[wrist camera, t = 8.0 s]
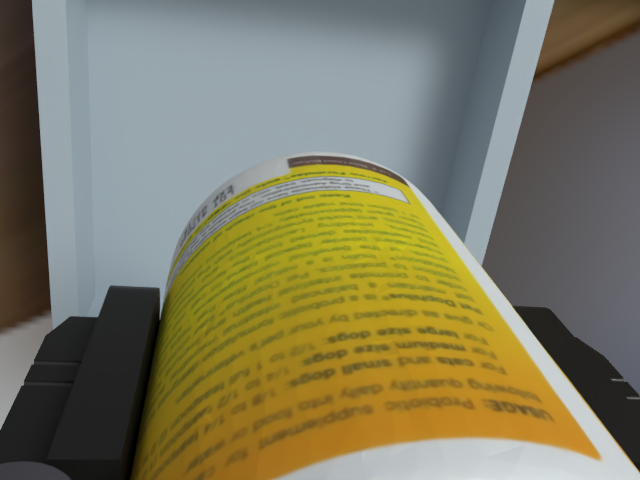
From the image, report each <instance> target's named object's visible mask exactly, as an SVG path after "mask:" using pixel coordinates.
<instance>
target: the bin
mask: <svg viewBox="0 0 640 480" xmlns="http://www.w3.org/2000/svg"><path fill="white" fill-rule="evenodd" d="M553 3H554V0H32V9H33V25H34V41H35V57H36V73H37V89H38V105H39V121H40V137H41V152H42V168H43V184H44V200H45V216H46V232H47V248H48V264H49V280H50V296H51V311H52V325H53V326H52V327H53V330H54V329H55V328H56V327H57V326H59V325H60V324H61V323H62V322H64V321H65V320H66V319H67V318H69V317H70V316H80V317H98V316H99V313H100V310H101V308H102V305H103V302H104V299H105V297H106V294H107V291H108V289H109V287H110V286H111V285H116V286H136V287H157V288H159V289H160V317H161V311H162V306H163V301H164V295H165V290H166V282H167V278H168V273H169V269H170V265H171V261H172V257H173V254H174V251H175V248H176V246H177V243H178V240H179V238H180V236H181V234H182V232H183V230H184V228H185V227H186V225H187V223H188V221H189V220H190V219H191V217H192V216H193V214H194V213H195V212H196V210H197V209H198V208H199V207H200V205H201V204H202V203H203V202H204V201H205V200H206V199H207V198H208V197H209V196H210V195H211V194H212V193H213V192H214V191H215V190H216V189H218V188H219V187H220V186H221V185H222V184H224V183H225V182H227V181H228V180H230V179H231V178H232V177H234V176H235V175H237V174H239V173H241V172H243V171H244V170H246V169H248V168H250V167H252V166H255V165H257V164H259V163H261V162H264V161H267V160H270V159H273V158H276V157H280V156H284V155H289V154H295V153H302V152H335V153H342V154H348V155H353V156H357V157H361V158H364V159H367V160H370V161H373V162H376V163H378V164H380V165H382V166H385V167H387V168H389V169H391V170H393V171H394V172H396V173H398V174H399V175H401V176H402V177H404V178H405V179H407V180H408V181H409V182H410V183H412V184H413V185H414V186H415V187H416V188H417V189H418V190H419V191H420V192H421V193H422V194H423V195H424V196H425V197H426V198H427V199H428V200H429V201H430V202H431V203H432V205H433V206H434V207H435V208H436V209H437V211H438V212H439V213H440V214H441V215H442V217H443V218H444V219H445V220H446V222H447V223H448V224H449V226H450V227H451V228H452V229H453V231H454V232H455V233H456V234H457V236H458V237H459V238H460V240H461V241H462V242H463V244H464V245H465V246H466V247H467V249H468V250H469V251H470V253H471V254H472V255H473V256H474V258H475V259H476V260H477V262H478V263H479V264H480V265H481V266H482V262H483V259H484V255H485V251H486V248H487V244H488V240H489V237H490V233H491V229H492V226H493V222H494V219H495V215H496V211H497V207H498V204H499V200H500V197H501V193H502V189H503V185H504V182H505V178H506V175H507V171H508V167H509V164H510V160H511V156H512V153H513V149H514V146H515V142H516V138H517V135H518V131H519V127H520V124H521V120H522V116H523V113H524V109H525V105H526V102H527V98H528V94H529V91H530V87H531V84H532V80H533V76H534V73H535V69H536V65H537V62H538V58H539V54H540V51H541V47H542V43H543V40H544V36H545V32H546V29H547V25H548V22H549V18H550V14H551V11H552V7H553Z"/></svg>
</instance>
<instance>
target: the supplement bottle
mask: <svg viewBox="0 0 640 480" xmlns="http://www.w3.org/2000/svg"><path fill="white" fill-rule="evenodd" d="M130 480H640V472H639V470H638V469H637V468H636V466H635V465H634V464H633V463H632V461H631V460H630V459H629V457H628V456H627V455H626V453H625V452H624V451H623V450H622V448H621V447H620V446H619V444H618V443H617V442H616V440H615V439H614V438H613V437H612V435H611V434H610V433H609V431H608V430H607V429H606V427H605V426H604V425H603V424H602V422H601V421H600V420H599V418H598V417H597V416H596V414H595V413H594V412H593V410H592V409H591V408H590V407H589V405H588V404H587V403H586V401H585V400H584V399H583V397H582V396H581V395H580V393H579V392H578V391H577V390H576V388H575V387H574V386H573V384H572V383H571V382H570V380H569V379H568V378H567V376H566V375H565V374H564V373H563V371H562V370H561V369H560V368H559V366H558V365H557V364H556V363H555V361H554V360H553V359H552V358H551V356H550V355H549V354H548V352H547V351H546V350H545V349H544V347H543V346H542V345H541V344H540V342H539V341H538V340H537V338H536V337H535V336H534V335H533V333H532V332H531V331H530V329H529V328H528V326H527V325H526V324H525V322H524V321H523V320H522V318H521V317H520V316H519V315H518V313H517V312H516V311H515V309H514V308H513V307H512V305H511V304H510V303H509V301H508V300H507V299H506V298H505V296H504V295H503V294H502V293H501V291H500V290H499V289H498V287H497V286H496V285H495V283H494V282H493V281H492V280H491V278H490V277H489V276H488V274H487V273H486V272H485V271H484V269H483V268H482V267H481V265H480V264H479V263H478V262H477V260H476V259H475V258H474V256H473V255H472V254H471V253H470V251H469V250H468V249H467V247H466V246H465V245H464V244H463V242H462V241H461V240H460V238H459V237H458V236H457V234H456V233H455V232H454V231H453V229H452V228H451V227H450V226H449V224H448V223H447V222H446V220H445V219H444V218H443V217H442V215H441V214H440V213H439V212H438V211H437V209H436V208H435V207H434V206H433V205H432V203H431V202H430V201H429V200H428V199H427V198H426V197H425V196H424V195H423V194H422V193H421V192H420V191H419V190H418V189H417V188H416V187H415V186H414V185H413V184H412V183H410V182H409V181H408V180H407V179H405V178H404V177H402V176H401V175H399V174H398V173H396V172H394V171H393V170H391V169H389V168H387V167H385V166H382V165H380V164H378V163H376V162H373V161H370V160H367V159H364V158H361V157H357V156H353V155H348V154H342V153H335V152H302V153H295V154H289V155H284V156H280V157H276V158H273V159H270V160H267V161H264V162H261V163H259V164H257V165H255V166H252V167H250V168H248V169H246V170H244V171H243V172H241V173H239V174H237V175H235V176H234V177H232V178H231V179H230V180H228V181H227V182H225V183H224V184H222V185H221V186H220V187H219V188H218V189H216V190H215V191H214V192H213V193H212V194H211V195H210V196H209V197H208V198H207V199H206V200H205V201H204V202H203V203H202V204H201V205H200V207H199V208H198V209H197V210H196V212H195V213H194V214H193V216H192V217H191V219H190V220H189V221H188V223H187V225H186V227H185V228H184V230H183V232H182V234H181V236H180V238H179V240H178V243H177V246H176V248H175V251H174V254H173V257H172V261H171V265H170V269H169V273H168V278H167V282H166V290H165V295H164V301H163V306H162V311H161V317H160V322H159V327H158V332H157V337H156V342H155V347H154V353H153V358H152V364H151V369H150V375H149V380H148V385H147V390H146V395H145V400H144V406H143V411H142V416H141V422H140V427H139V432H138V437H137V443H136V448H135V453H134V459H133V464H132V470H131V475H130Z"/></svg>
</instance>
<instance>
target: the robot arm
mask: <svg viewBox="0 0 640 480" xmlns="http://www.w3.org/2000/svg"><path fill="white" fill-rule="evenodd" d="M512 307H513V308H514V309H515V311H516V312H517V313H518V315H519V316H520V317H521V318H522V320H523V321H524V322H525V324H526V325H527V326H528V328H529V329H530V331H531V332H532V333H533V335H534V336H535V337H536V338H537V340H538V341H539V342H540V344H541V345H542V346H543V347H544V349H545V350H546V351H547V352H548V354H549V355H550V356H551V358H552V359H553V360H554V361H555V363H556V364H557V365H558V366H559V368H560V369H561V370H562V371H563V373H564V374H565V375H566V376H567V378H568V379H569V380H570V382H571V383H572V384H573V386H574V387H575V388H576V390H577V391H578V392H579V393H580V395H581V396H582V397H583V399H584V400H585V401H586V403H587V404H588V405H589V407H590V408H591V409H592V410H593V412H594V413H595V414H596V416H597V417H598V418H599V420H600V421H601V422H602V424H603V425H604V426H605V427H606V429H607V430H608V431H609V433H610V434H611V435H612V437H613V438H614V439H615V440H616V442H617V443H618V444H619V446H620V447H621V448H622V450H623V451H624V452H625V453H626V455H627V456H628V457H629V459H630V460H631V461H632V463H633V464H634V465H635V466H636V468H637V469H638V470H639V472H640V399H639V395H638V393H637V392H636V391H635V390H634V389H633V388H632V387H631V386H630V385H629V383H628V382H624V381H623V377H622V376H621V375H620V373H619V372H618V371H617V370H616V369H615V368H614V367H613V366H612V365H611V363H610V362H609V361H608V360H607V359H606V358H605V357H604V356H603V355H601V354H600V353H599V352H597V351H596V350H594V349H593V348H591V347H590V346H588V345H586V344H585V343H584V342H582V341H581V340H579V339H578V338H576V337H574V336H573V335H572V334H571V333H570V331H569V330H568V329H567V328H566V327H565V326H564V325H563V323H562V322H561V321H560V320H559V319H558V318H557V317H556V315H555V314H554V313H553V312H552V311H551V310H550V309H548V308H545V307H527V306H526V307H525V306H512ZM159 322H160V289H159V288H157V287H136V286H116V285H111V286H110V287H109V289H108V291H107V294H106V297H105V299H104V302H103V305H102V308H101V310H100V313H99V316H98V317H80V316H70V317H69V318H67V319H66V320H65V321H64V322H62V323H61V324H60V325H59V326H57V327H56V328H55V329H54V330H52V331H51V332H50V333H49V334H47V335H46V336H45V339H44V341H43V343H42V345H41V347H40V349H39V351H38V353H37V355H36V357H35V359H34V365H31V368H30V370H29V372H28V374H27V376H26V378H25V380H24V386H21V388H20V391H19V393H18V395H17V397H16V399H15V401H14V403H13V405H12V407H11V409H10V411H9V413H8V415H7V418H6V420H5V422H4V424H3V426H2V428H1V430H0V480H130V475H131V470H132V464H133V459H134V453H135V448H136V443H137V437H138V432H139V427H140V422H141V416H142V411H143V406H144V400H145V395H146V390H147V385H148V380H149V375H150V369H151V364H152V358H153V353H154V347H155V342H156V337H157V332H158V327H159Z"/></svg>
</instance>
